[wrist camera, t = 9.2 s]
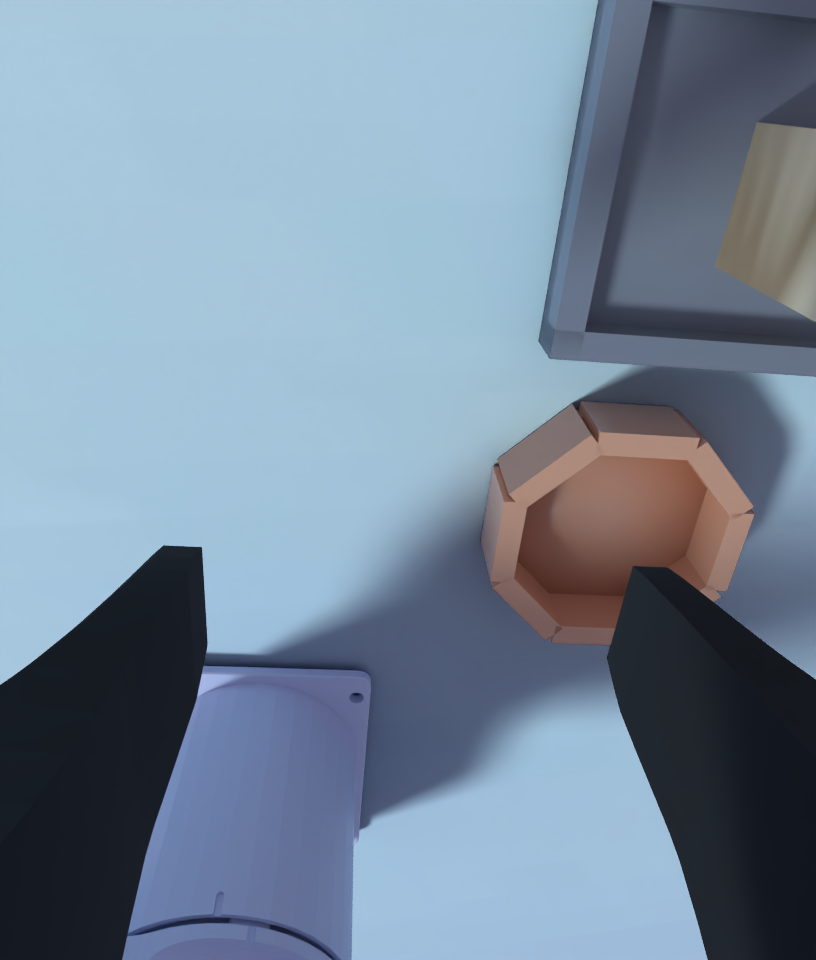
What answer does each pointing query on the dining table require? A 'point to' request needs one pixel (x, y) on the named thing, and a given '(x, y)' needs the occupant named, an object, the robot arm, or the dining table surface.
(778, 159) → the beech peg
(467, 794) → the dining table surface
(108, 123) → the dining table surface
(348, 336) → the dining table surface
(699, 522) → the terracotta octagonal bowl
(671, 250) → the slate tray
